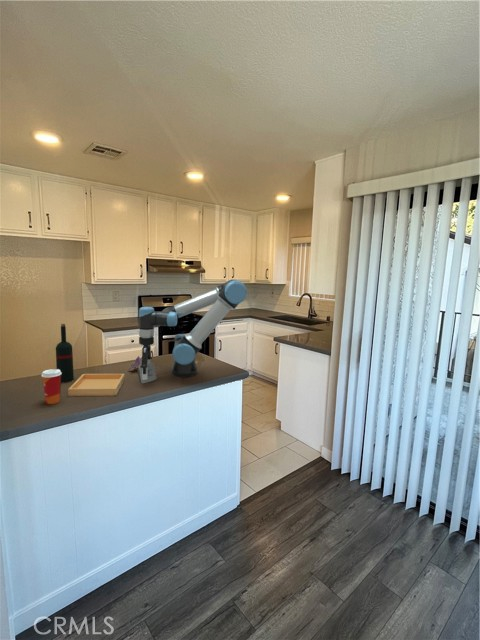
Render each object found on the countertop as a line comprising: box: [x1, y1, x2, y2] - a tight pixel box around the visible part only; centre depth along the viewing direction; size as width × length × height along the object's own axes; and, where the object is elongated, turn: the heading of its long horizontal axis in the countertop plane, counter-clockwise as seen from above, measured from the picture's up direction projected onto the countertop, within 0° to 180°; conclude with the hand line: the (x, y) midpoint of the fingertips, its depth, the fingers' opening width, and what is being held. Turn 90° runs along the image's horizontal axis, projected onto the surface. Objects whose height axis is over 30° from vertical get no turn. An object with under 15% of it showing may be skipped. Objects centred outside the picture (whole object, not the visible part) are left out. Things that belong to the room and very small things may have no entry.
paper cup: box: [40, 368, 62, 405], centre depth 141 cm, size 8×8×14 cm
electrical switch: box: [136, 362, 158, 384], centre depth 172 cm, size 9×5×9 cm, turn 141°
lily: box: [127, 355, 142, 372], centre depth 186 cm, size 12×12×10 cm
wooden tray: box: [67, 373, 126, 397], centre depth 159 cm, size 21×21×4 cm
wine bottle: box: [55, 323, 75, 384], centre depth 166 cm, size 8×10×30 cm
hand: (146, 375), depth 171 cm, fingers open, 13 cm apart
